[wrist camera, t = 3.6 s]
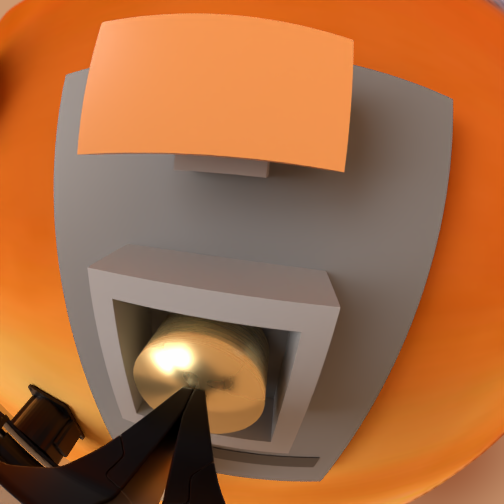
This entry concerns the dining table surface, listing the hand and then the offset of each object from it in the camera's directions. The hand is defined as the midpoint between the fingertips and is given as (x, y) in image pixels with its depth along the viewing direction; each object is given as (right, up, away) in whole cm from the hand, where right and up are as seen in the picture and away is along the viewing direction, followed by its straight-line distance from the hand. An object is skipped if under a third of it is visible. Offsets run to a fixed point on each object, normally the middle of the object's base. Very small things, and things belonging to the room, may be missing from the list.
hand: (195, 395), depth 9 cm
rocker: (+1, +10, -3) cm, 10 cm away
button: (0, +1, +3) cm, 3 cm away
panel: (0, +1, +5) cm, 6 cm away
